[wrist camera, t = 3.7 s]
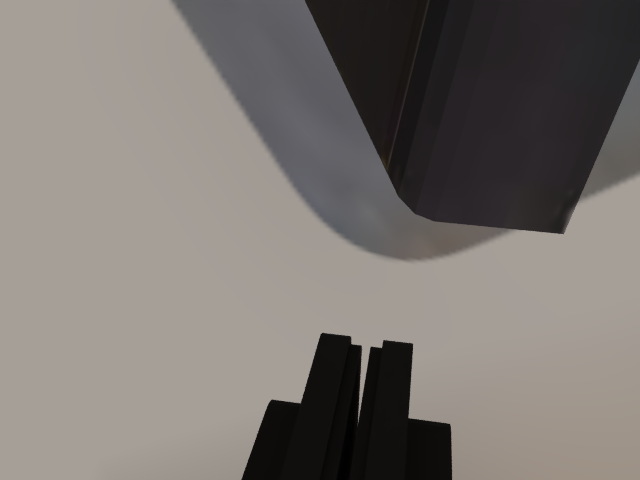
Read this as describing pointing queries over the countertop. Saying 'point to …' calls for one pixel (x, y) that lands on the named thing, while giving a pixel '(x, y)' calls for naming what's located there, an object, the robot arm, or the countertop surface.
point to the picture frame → (485, 98)
